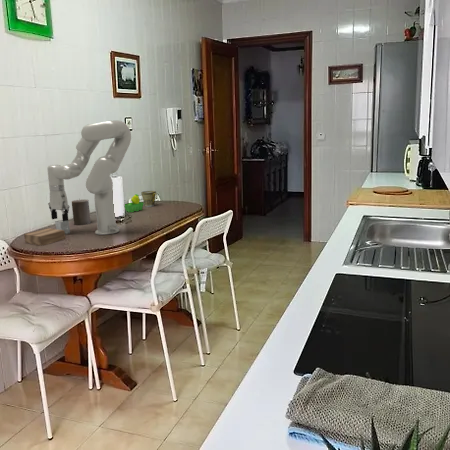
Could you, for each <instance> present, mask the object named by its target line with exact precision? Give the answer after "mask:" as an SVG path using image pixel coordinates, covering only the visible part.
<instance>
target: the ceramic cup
mask: <svg viewBox="0 0 450 450" xmlns="http://www.w3.org/2000/svg"><path fill="white" fill-rule="evenodd" d="M140 193H141V198H142V201H143V206H144V207H145V208H152V207H155V204H156V203H155V202H156V199H157V198H158V193H157V191H156V190H144V191H141V192H140Z"/></svg>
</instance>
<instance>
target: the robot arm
mask: <svg viewBox="0 0 450 450" xmlns="http://www.w3.org/2000/svg"><path fill="white" fill-rule="evenodd" d="M80 131H81V132H80V133H81V134H80V135H81V138H80V140H79V141H78V142H77V144H76V145H75V149H76V155H75V156H74V158H73V160H72V161H71V162H70V163H69V164H65V165H61V164H50V165H48V166H47V176H48V177H47V178H48V179H47V180H48V188H49V202H48V203H47V205H48V208H49V211H50V212H49V213H50V217H51V220H57V219H58V211H61V213H62V215H61V217H62V219H61V220H63V221H68V220H69V211H70V205H69V202H68V197H67V192H66V191H65V182H64V181H65V180H71V179H74V178H78V177H79V176H80V175H81V174H82V173H83V171H84V170H85V168H86V167H87V166H88V163H89V161H90V158H91V156H92V153H94V151H95V149H96V148H97V147H98V145H99V144H100V142H101V141H104V140H109V139H113V140H112V142H111V144H110V146H109V147H108V150H107V151H106V154H105V155H104V156H101V157H99V158H98V159H96V161H95V162H94V164H93V166H92V168H91V170H90V172H89V174H88V176H87V178H86V181H85V187H86V189H87V191H88V192H89V193H90V194H93V195H94V207H95V208H94V209H95V217H96V224H97V229H96V230H95V233H94V234H96V235H99V236H100V235H101V236H102V235H103V236H106V235H113V234H116V233H119V232H120V228H121V227H120V226H118V223H116V218H115V213H114V204H113V190H114V189H113V187H114V184H113V178H112V177H111V175H112V174H115V173H116V172H117V171H119V168H120V166H121V164H122V161H123V160H124V157H125V155H126V153H127V151H128V150H129V147H130V145H131V140H132V131H131V130H130V127H129V126H128V125H127V124H126V123H125V122H124V121H122V120H108V121H102V122H96V123H90V124H89V123H88V124H86V125H84V126H83V127H82V129H81V130H80Z"/></svg>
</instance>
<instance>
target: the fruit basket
mask: <svg viewBox="0 0 450 450" xmlns="http://www.w3.org/2000/svg"><path fill="white" fill-rule="evenodd" d="M140 200H141V199H140V197H139V194H138V193H137V194H134V195H133V196H132V197H131V199H130V201H131V202H129V203H126V204H125V203H124V204H125V206H124V209H125V211H128V212H127V213H131V212H132V213H135V212H134V211H136V212H140V211H139V210H141V211H143V207H144V202H142V201H140Z"/></svg>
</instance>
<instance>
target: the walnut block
mask: <svg viewBox="0 0 450 450" xmlns="http://www.w3.org/2000/svg"><path fill="white" fill-rule="evenodd" d="M23 235H24V241H25V244H29V243H30V245H35V246H40V245H41V246H42V245H43V246H46V245H49V244H53V243H56V242H60V241H64V240H66V239H67V238H66V234H65V231H64V230H58V229H56V228H49V227H48V228H44V229H39V230H36V231H31V232H26V233H24V234H23ZM43 246H42V247H43Z"/></svg>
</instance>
